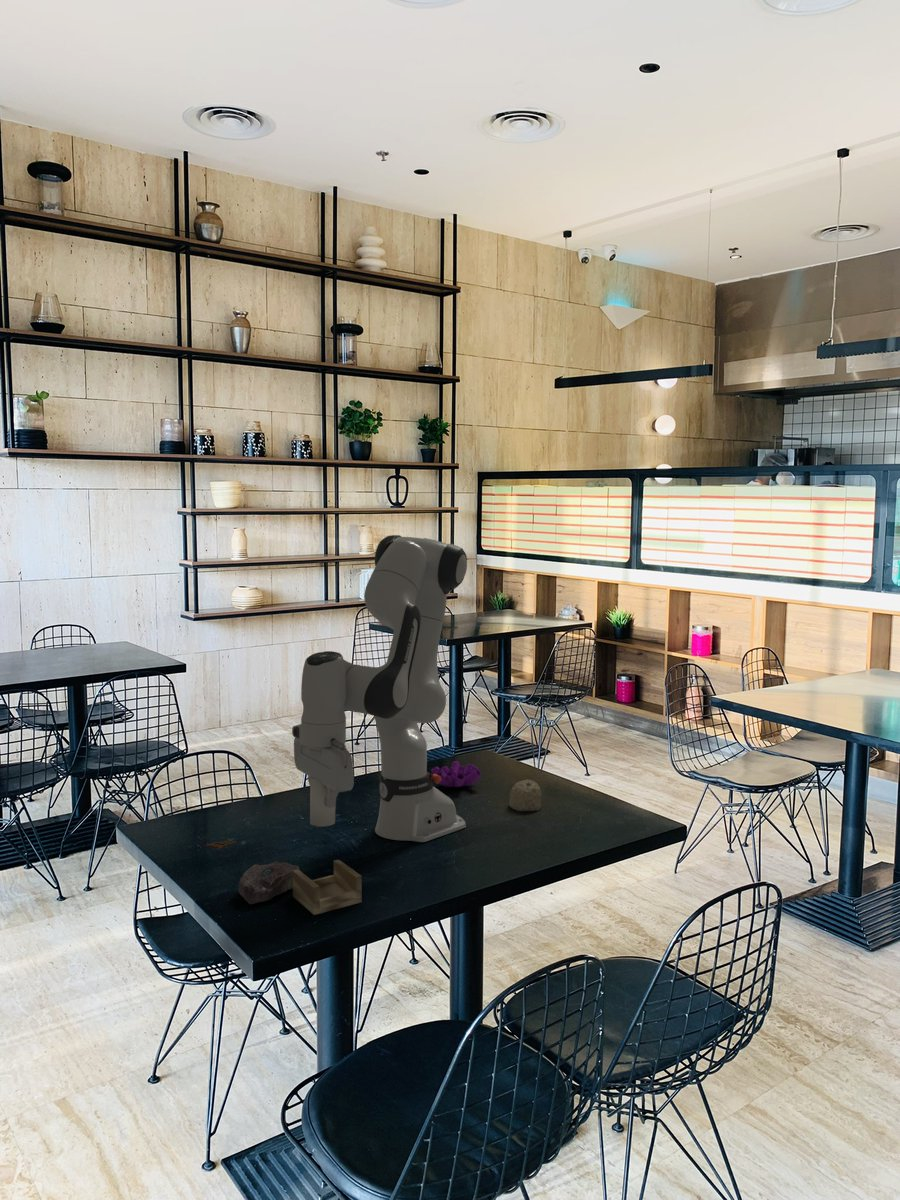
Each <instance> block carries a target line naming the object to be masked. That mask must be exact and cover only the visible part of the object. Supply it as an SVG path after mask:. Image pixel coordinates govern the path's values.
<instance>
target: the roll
mask: <svg viewBox="0 0 900 1200" xmlns="http://www.w3.org/2000/svg"><path fill="white" fill-rule="evenodd" d="M309 788H310V790H309V797H310V798H309V803H310V804H309V814H310V815H309V824H310V825H312V826H314V827H321V828H322V827H329V826H333V825H335V824H336V806H335V807H331V808H329V807H327V806H326V805H325V797H327V793H328V791H327V786H325V785H324V784H322V783H320V782H319V781H317V780H315V779H314V778H312V777H311V778H310V785H309Z"/></svg>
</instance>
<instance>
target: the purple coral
mask: <svg viewBox="0 0 900 1200" xmlns="http://www.w3.org/2000/svg"><path fill="white" fill-rule="evenodd" d="M450 765H451V766H450V767H449V768H448V766H447V765H445V766H443V767H441V768H439V767H438V766H433V767H432V768H431V770H430V772H431V774H432V775H433V774H437V775H439V776H440V777H441V781H439V782H440V783H439V785H442V786H444V787H448V788H460V787H467V786H471V785H473V784H475V783H477V781H478V780H479V779H481V777H482V772H481V771H480V770H479V767H477V766H475V765H474V764H472V763H467V764H466V766H464V765H460V762H459V761H457V760H455V761H454V760H453V761H452V762H451V764H450Z"/></svg>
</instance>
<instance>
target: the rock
mask: <svg viewBox="0 0 900 1200" xmlns="http://www.w3.org/2000/svg"><path fill="white" fill-rule="evenodd" d="M297 869H298V870H299V871H301V870H300V867H299V865H297V864H295V865H294V864H293V865H292V864H291V863H289V862H287V863H286V862H285V861H283V862H279V861H274V862H270V863H268V864H261V865H259V864H254V865H252V866H251V867H250V868H248V869H246V870H245V872H244V873H243V874H242V876H241V877H240V880H239V883H238V885H239V886H238V888H237V891H238V893H239V894H240V896H241V897H242V898H243V899H244V901H246V903H248V905H252V904H257V903H261V902H268V901H270V900H272V899H273V898H274V897H275V896H280V895H281V894H283V893H286V892H287V891H290V890H293V873H292V871H293V870H297Z"/></svg>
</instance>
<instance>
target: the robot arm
mask: <svg viewBox="0 0 900 1200" xmlns="http://www.w3.org/2000/svg"><path fill="white" fill-rule="evenodd" d="M374 564H375V567H374V569H373V571H372V573H371V575H370V577H369V579H368V582H367V583H366V586H365V590H364V595H363V598H364V602H365V607H366V608H367V610H368V612H369V613H370V615H372V617H374V618H375V620H376V621H378V622H379V623H381V624H382V625H384V626H385V627H388V628H389V629H391V630H393V635H392V640H391V644H390V646H389V651H388V656H387V661H386V662H385V663H384V664H383V665H381V666H375V667H374V666H366V665H360V664H354V663H352V662H350V661H348V660H345V658H344V656H343V655H342V654H341V653H340V652H337V651H332V650H331V651H329V650H326V651H321V652H320V651H319V652H315V653H312V654H311V655H309V656H307V658H306V659H305V661H304V664H303V669H302V673H301V674H302V675H301V691H300V692H301V693H300V694H301V697H300V698H301V703H302V709H303V710H302V714H301V717H300V720H301V721H300V724H296V725H293V726H292V727H291V734H292V737H294V739H293V759H294V764H295V768H296V769H297V771H300V772H301V773H303V774H305V775H307V781H308V786H310V778H311V777H312V778H314V779H315V780H317V781H319V782H320V783H322V784H324V785H325V786H327V791H328V793H327V797H325V805H326V806H327V807H329V808H331V807H335V808H336V806H337V797H338V795H339V793H343V792H347V791H348V792H350V791H351V790H352V789H353V788H354V784H355V781H354V779H355V778H354V763H353V756H352V754H351V753H350V751H348V750H347V747H346V742H347V740H346V739H347V737H346V736H347V717H346V713H345V711H350V712H352V713H358V714H365V715H370V716H372V717H373V718H374V721H375V725H376V728H377V732H378V736H379V743H380V760H381V761H380V765H381V766H380V767H381V768H380V770H381V772H380V773H379V797H380V803H379V812H378V818H377V820H376V821H377V822H376V826H375V828H374V832H375V834H376V835H378V836H379V837H382V838H384V839H389V840H393V841H394V840H395V841H412V842H418V843H425V842H428V841H431V840H435V839H436V838H440V837H442V836H446V835H448V834H451V833H455V832H457V831H460V830H462V829H464V828H466V821H465V820H464V818H462V817H461V816H460V815H458V814H457V809H456V806H455V803H454V801H453V800H452V799H451V798H450V797H449V796H448V795H446V794H444V793H443V792H442V791H440V790H439V789H438V788H436V787H435V786H434V784H433V783H435V784H437V785H438V784H440V782H439V781H441V777H440V776H439V775H437V774H433V773H432V772H431V773H430V772H428V770H427V769H428V767H427V765H428V756H427V755H428V754H427V753H428V750H427V749H428V747H427V741H426V738H425V737H424V735H423V733H422V732H421V730H420V728H419V725H418V724H430V723H433V722H435V721H438V719H440V718H441V716H442V715H443V713H444V711H445V710H446V709H445V708H446V704H447V697H446V692H445V690H444V689H443V687H442V685H441V682H440V677H439V670H438V651H439V645H440V640H441V639H440V638H441V635H442V630H443V625H444V619H445V616H446V615H445V614H446V608H447V600H448V599H447V598H448V596H447V595H449V593H451V591H453V590H455V589H457V588H458V587H459V586H460V585H461V584H462V583H463V581H464V578H465V576H466V574H467V570H468V569H467V568H468V557H467V553H466V552H465V551H464V548H462V547H460V546H458V545H456V544H454V543H446V542H443V541H439V540H435V539H431V538H426V537H424V538H421V537H411V536H401V535H399V534H391V535H386V536H385V537H384V538H383V539H381V540H380V541H379V543H378V545H377V546H376V549H375V554H374Z"/></svg>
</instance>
